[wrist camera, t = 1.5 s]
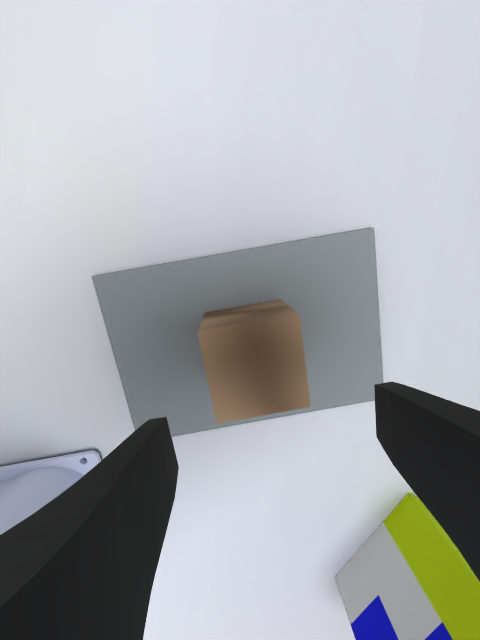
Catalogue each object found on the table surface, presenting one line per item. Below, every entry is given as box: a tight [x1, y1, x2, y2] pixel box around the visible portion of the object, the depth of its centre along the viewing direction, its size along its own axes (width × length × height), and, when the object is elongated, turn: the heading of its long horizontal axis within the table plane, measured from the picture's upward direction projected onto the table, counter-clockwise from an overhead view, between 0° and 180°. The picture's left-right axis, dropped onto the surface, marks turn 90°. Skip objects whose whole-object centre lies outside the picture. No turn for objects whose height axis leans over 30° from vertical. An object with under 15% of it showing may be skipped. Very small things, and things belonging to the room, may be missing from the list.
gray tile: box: [92, 228, 383, 437], centre depth 19 cm, size 18×12×1 cm, turn 100°
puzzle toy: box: [335, 493, 480, 640], centre depth 20 cm, size 10×10×10 cm
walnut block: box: [197, 300, 311, 424], centre depth 17 cm, size 5×5×5 cm
